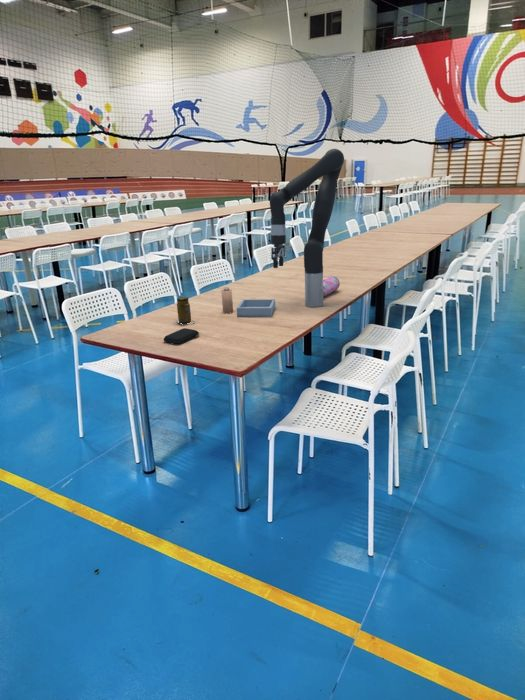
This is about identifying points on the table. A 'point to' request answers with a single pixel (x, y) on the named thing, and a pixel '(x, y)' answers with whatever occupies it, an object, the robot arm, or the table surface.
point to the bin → (256, 308)
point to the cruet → (227, 300)
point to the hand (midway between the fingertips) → (278, 267)
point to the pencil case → (330, 285)
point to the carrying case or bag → (181, 336)
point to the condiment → (183, 311)
